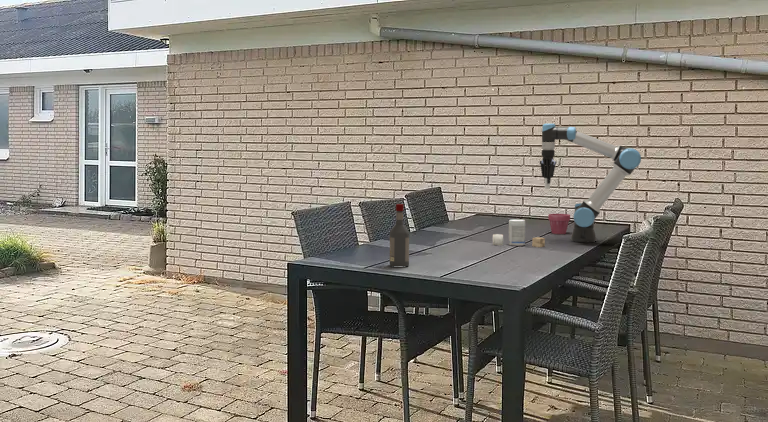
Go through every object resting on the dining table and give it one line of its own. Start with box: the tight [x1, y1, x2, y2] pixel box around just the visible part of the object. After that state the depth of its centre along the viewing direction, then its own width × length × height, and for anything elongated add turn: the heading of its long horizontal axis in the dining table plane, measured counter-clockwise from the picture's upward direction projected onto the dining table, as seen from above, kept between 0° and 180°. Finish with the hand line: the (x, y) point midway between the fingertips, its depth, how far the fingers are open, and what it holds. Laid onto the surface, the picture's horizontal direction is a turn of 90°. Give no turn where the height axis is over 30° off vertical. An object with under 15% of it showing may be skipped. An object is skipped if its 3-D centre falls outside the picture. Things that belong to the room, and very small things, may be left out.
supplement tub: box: [508, 219, 526, 247], centre depth 420 cm, size 10×10×15 cm
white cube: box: [492, 233, 504, 247], centre depth 420 cm, size 6×6×6 cm
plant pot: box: [547, 213, 571, 235], centre depth 474 cm, size 14×14×13 cm
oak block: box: [531, 236, 546, 248], centre depth 415 cm, size 5×5×5 cm
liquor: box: [389, 203, 410, 267], centre depth 345 cm, size 9×9×30 cm
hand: (547, 189), depth 429 cm, fingers closed
